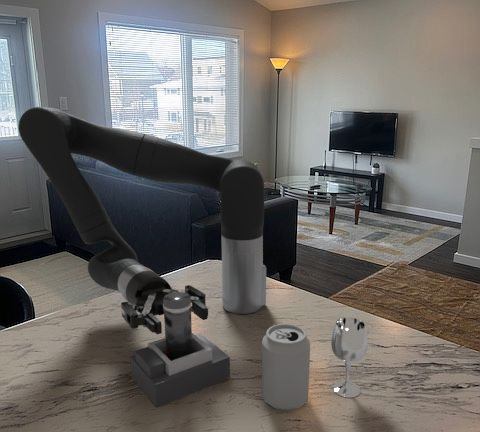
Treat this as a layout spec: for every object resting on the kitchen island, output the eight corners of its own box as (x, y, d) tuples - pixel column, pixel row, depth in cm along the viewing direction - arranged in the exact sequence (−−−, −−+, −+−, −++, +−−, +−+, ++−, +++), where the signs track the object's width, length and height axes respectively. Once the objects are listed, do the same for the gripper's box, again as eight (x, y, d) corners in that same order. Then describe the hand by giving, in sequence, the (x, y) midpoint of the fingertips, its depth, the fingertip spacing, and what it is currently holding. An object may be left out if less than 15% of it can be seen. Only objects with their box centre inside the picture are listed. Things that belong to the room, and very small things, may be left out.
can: (306, 417, 73) (309, 346, 69) (258, 410, 74) (258, 341, 71) (309, 387, 80) (312, 322, 77) (265, 382, 81) (265, 318, 78)
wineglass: (344, 404, 75) (348, 336, 72) (321, 385, 80) (324, 320, 77) (371, 393, 78) (376, 327, 75) (348, 375, 83) (352, 312, 80)
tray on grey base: (201, 352, 91) (200, 322, 89) (230, 377, 83) (229, 344, 81) (131, 377, 83) (129, 344, 81) (156, 407, 75) (154, 372, 73)
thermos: (185, 346, 85) (182, 289, 82) (198, 358, 81) (196, 299, 78) (160, 354, 82) (157, 296, 79) (172, 367, 79) (169, 306, 76)
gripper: (105, 279, 86) (141, 312, 73) (176, 262, 94) (219, 290, 81) (108, 316, 88) (144, 355, 75) (177, 297, 96) (220, 329, 83)
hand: (183, 321), depth 78 cm, fingers open, 8 cm apart
